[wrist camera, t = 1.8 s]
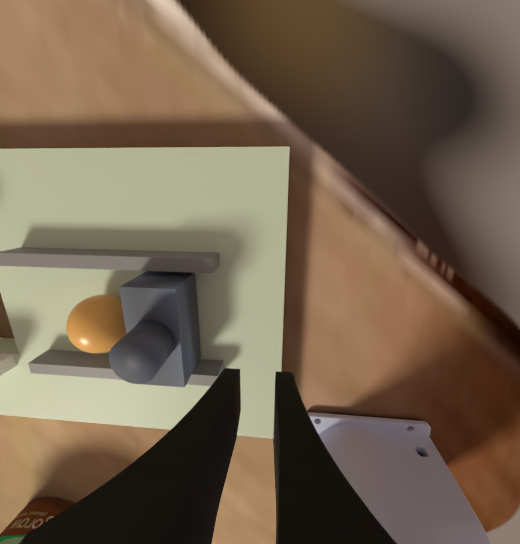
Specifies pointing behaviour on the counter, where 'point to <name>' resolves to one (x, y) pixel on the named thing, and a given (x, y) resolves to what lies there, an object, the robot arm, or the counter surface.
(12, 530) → the food container
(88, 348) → the ball
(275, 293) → the board
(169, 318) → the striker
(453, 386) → the counter surface
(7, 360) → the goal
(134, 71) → the counter surface
